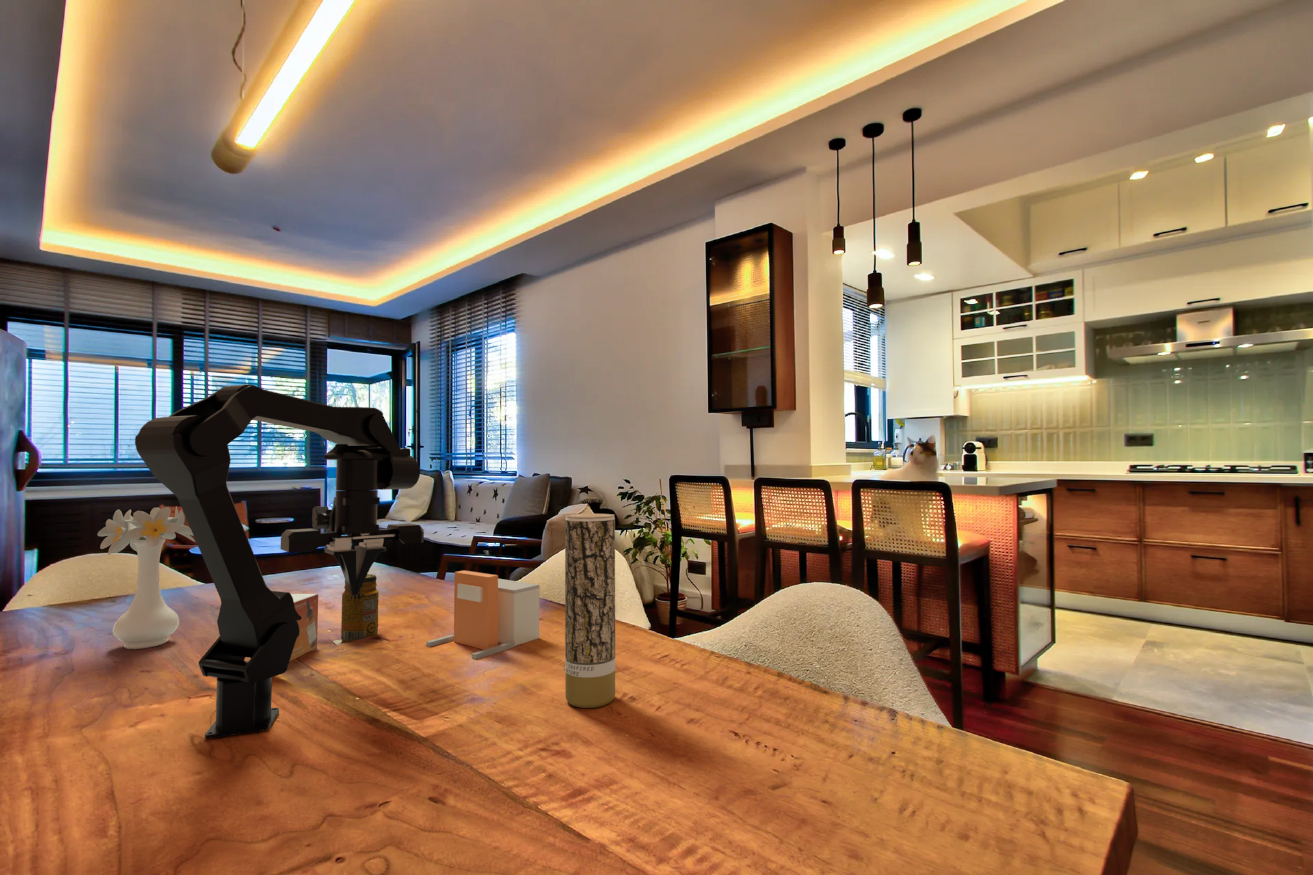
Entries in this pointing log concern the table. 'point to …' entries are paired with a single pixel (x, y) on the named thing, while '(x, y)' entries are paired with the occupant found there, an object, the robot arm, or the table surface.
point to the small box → (306, 623)
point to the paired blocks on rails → (510, 617)
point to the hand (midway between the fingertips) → (354, 594)
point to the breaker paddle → (476, 609)
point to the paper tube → (589, 609)
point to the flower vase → (145, 573)
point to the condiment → (360, 612)
